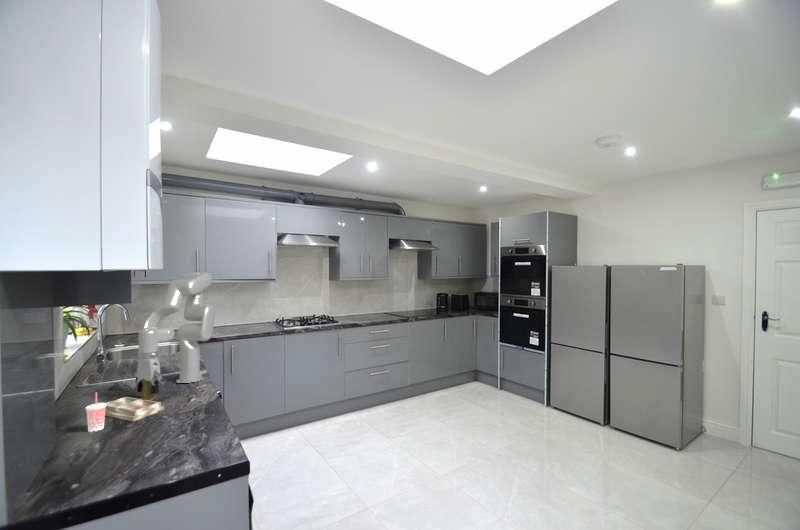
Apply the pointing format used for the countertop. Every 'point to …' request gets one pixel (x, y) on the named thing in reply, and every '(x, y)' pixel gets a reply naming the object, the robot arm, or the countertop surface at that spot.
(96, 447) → the countertop surface
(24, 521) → the countertop surface
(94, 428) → the beverage cup
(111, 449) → the countertop surface
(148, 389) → the cork
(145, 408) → the spice holder
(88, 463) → the countertop surface
